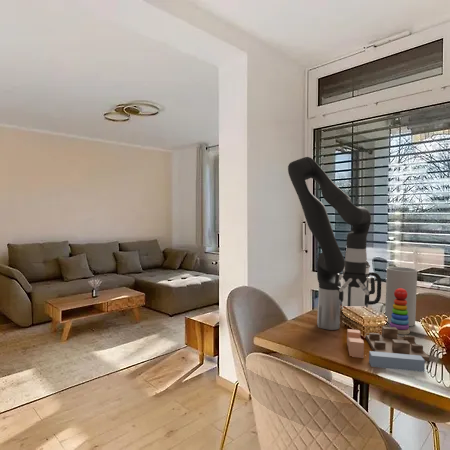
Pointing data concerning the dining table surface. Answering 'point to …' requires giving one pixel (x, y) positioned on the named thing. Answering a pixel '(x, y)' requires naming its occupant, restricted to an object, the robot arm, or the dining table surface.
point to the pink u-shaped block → (355, 343)
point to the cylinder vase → (404, 280)
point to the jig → (395, 343)
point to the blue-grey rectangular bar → (397, 361)
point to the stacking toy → (400, 312)
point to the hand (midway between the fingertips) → (353, 302)
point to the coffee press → (360, 291)
